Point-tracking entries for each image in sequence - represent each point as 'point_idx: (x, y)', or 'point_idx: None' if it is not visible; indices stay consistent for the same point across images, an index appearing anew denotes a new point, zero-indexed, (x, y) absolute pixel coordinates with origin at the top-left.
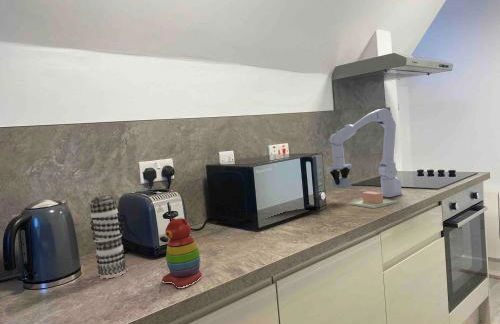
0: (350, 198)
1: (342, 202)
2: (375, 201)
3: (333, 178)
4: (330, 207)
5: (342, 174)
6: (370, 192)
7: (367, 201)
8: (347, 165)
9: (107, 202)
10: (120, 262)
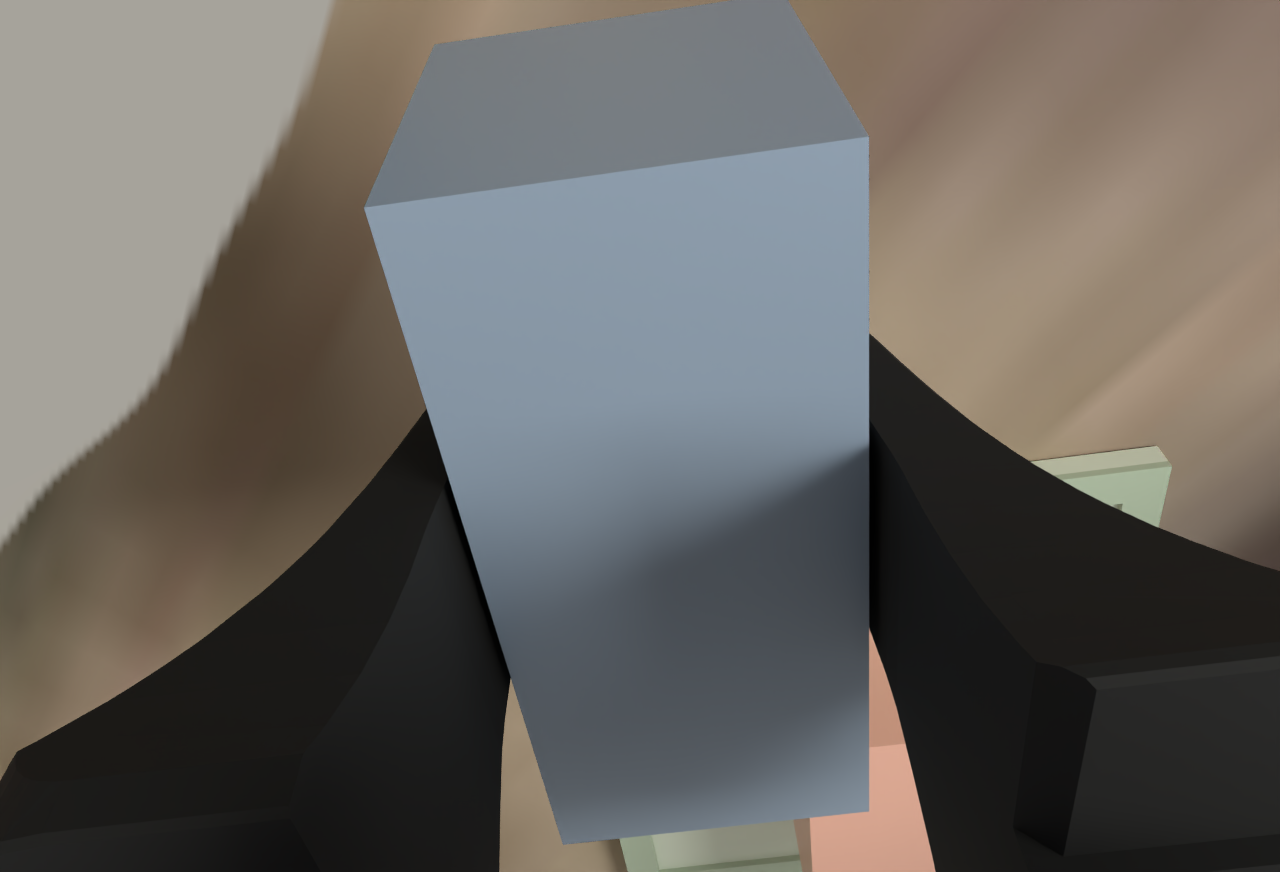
0: (990, 3)
1: None
2: (795, 828)
3: (426, 329)
4: (136, 489)
5: (924, 616)
6: (900, 824)
7: None
8: None
9: None
10: None
